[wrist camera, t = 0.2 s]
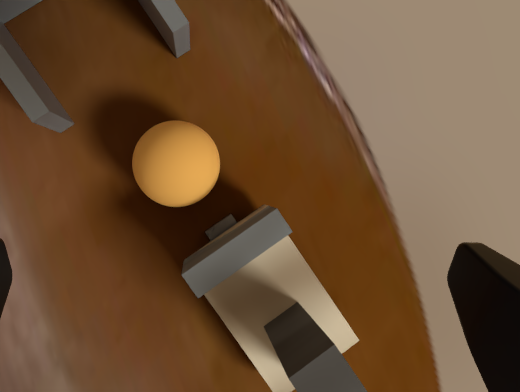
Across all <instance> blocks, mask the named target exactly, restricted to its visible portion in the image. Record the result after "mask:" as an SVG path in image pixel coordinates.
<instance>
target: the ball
mask: <svg viewBox="0 0 520 392" xmlns="http://www.w3.org/2000/svg"><path fill="white" fill-rule="evenodd" d="M132 168H133V173H134V177H135V180H136V182H137V184H138V186H139V187H140V189H141V190H142V191H143V192H144V193H145V194H146V195H147V196H148V197H149V198H150V199H152V200H154V201H155V202H157V203H159V204H162V205H165V206H170V207H184V206H188V205H191V204H194V203H196V202H198V201H200V200H201V199H203V198H204V197H205V196H206V195H207V194H208V193H209V192H210V191H211V190H212V188H213V187H214V185H215V183H216V181H217V179H218V175H219V170H220V158H219V153H218V150H217V147H216V145H215V143H214V142H213V140H212V139H211V137H210V136H209V135H208V134H207V133H206V132H205V131H204V130H203V129H201V128H200V127H198V126H196V125H194V124H192V123H189V122H185V121H177V120H174V121H166V122H162V123H160V124H157V125H155V126H153V127H152V128H150V129H149V130H148V131H147V132H145V133H144V134H143V136H142V137H141V138H140V140H139V141H138V143H137V145H136V147H135V150H134V153H133V158H132Z"/></svg>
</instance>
